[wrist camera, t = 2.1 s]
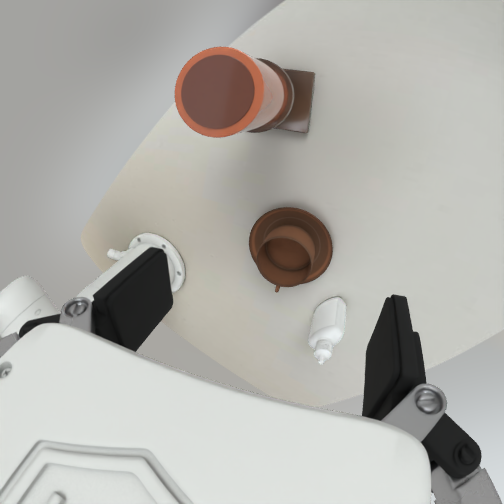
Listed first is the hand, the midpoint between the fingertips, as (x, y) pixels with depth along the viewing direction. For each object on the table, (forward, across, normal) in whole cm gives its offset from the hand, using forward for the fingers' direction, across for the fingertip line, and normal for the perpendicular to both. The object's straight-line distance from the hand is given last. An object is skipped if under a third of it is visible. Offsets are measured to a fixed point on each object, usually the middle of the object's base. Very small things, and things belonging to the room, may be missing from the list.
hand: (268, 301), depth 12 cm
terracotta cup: (+17, +6, -8) cm, 20 cm away
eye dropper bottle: (+29, -4, +22) cm, 37 cm away
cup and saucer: (+29, +3, +12) cm, 32 cm away
